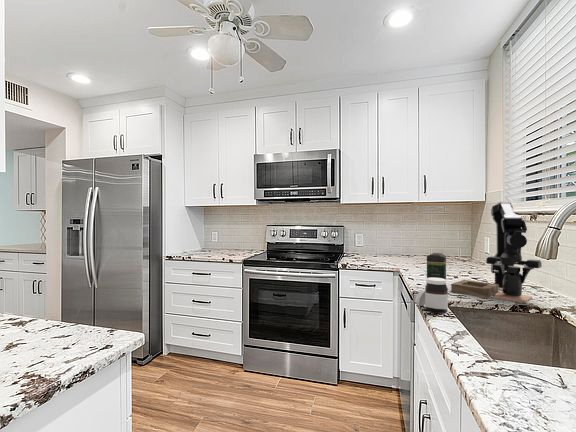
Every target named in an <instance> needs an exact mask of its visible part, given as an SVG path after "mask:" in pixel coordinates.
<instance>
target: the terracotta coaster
mask: <svg viewBox="0 0 576 432" xmlns="http://www.w3.org/2000/svg"><path fill="white" fill-rule="evenodd" d="M493 298H494V299H495V298H496V299H499V300H500V299H501V300H506V301H512V300H513V302H518V301H519V302H520V303H524V302H526V303H527V302H529V301H531V300H532V299H533V296H532V295H527V294H522V295H521V296H510V295H506V294H504V293H503V291H501V292H498V293H496V294H494V295H493ZM528 300H529V301H528Z"/></svg>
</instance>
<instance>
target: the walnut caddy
mask: <svg viewBox="0 0 576 432" xmlns="http://www.w3.org/2000/svg"><path fill="white" fill-rule="evenodd" d="M450 289H451V290H450V291H451V292H452V293H457V292H458V293H457V294H463V293H465V294H464V295H469V294H470V295H469V296H475V295H476V296H477V297H483V298H489V297H492V296H495V295H497V294H499V293H500V286H499V284H494V283H492V282H491V283H490V282H484V281H483V282H482V281H475V280H469V279H462V280H460V281H456V282H453V283H451V284H450ZM476 296H475V297H476Z"/></svg>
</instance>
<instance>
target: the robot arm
mask: <svg viewBox="0 0 576 432" xmlns="http://www.w3.org/2000/svg"><path fill="white" fill-rule="evenodd" d="M490 215H491V217H492V221H493V222H495V225H496V228H495V230H496V253H495V255H494V256H493V255H491V256H487V257H486V261H485V262H486V263H485V264H489V265H490V272H491V274H494V283H493V284H499V287H502V288H503V275H504V273H505V272H507V270H506V269H507V266H517V265H519V266H524V267H522V273H521V274H522V285H523V284H524V283H525V281H526V279H527V277H528V275H529V272H531V270H535V269H540V268H542V261H541V260H539V259H527V260H523V257H522V256H523V255H522V248H524V247H525V246H526V245H527V242H528V239H527V237H526V236H525V235H524V234H525V233H526V234H527V232H528V231H527V230H528V229H527V228H528V227H527V224H526V221H525V219H523V217H522V216H521V215H520V214H516V213H515V210H514V208H513V204H512V202H510V201H500V202H498V203H496V204H495V205H493V206H492V207H491V210H490Z"/></svg>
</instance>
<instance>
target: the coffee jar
mask: <svg viewBox="0 0 576 432" xmlns="http://www.w3.org/2000/svg"><path fill="white" fill-rule="evenodd" d="M427 278H443V279H446V280H447V256H446V255H445V254H443V253H439V252H432V253H430V254H428V255H427V256H426V279H427Z"/></svg>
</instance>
